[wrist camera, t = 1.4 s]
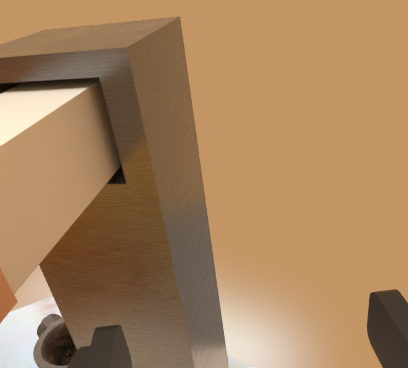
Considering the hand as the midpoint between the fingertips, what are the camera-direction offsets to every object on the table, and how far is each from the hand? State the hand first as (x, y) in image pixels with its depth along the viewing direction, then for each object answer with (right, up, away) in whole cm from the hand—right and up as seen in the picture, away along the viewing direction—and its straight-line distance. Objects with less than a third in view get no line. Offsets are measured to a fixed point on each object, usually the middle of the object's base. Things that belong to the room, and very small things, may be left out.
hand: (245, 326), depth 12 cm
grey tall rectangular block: (-3, -18, +23) cm, 29 cm away
